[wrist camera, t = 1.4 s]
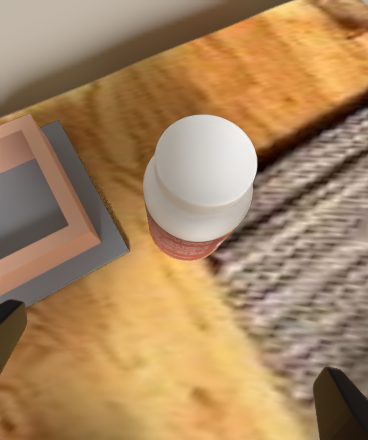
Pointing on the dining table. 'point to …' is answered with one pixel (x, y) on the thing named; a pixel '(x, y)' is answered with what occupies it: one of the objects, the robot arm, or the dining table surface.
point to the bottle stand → (48, 214)
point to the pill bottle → (198, 185)
